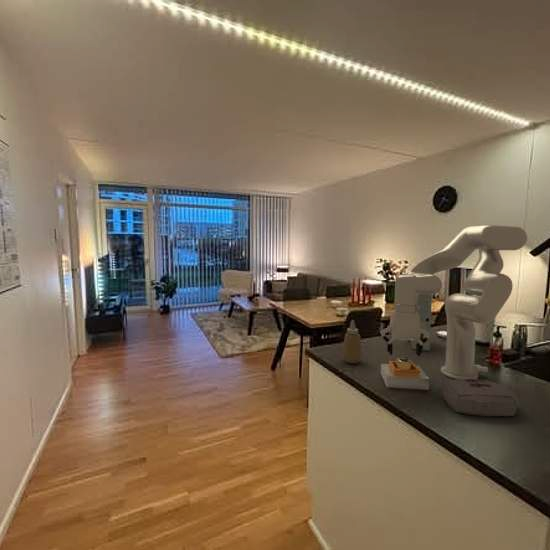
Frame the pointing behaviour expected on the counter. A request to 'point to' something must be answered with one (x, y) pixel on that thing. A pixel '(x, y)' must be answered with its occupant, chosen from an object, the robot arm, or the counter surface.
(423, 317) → the device
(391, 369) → the orange white open box
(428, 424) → the counter surface
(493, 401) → the grey rounded bag
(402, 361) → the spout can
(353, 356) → the squeeze bottle
